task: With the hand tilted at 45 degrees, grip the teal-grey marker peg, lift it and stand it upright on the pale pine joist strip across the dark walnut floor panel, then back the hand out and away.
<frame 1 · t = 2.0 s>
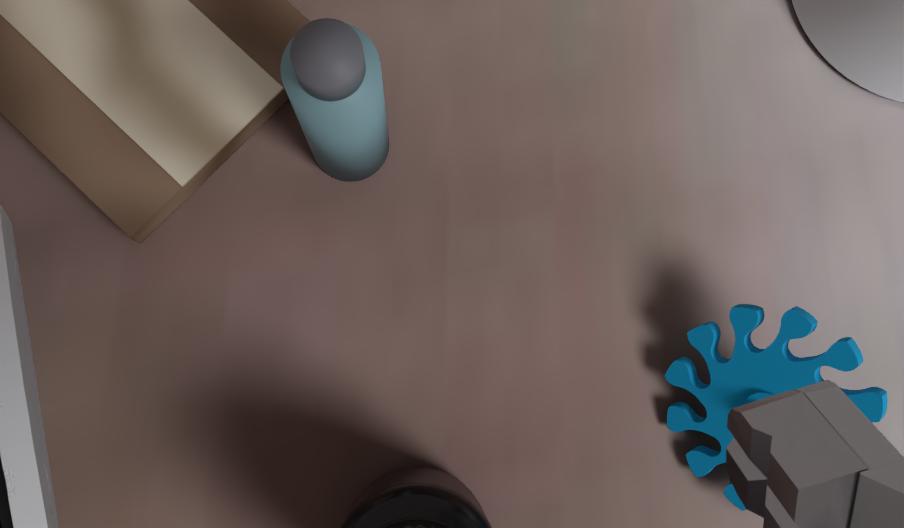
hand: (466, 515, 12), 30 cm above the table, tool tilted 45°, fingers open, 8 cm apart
floor panel: (144, 57, 44), on the table
grey piece: (15, 385, 41), on the table
marker peg: (350, 144, 43), on the table
gear: (740, 420, 42), on the table
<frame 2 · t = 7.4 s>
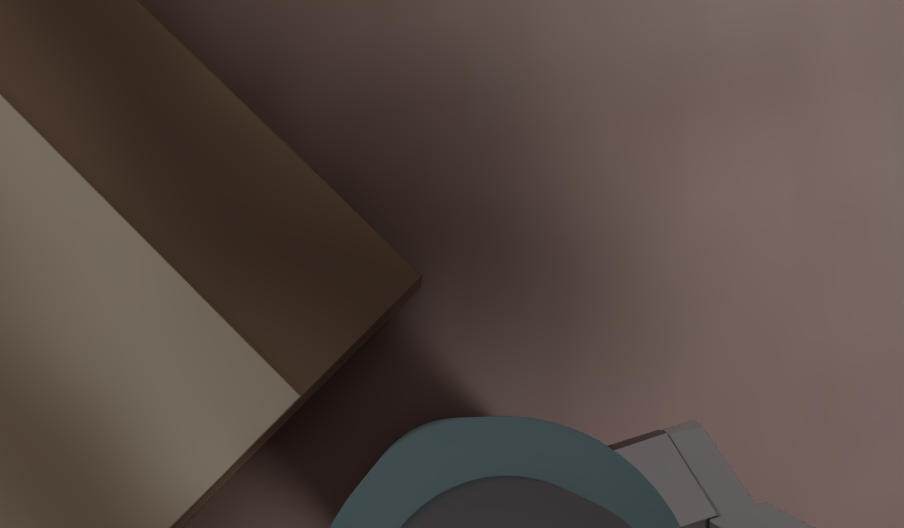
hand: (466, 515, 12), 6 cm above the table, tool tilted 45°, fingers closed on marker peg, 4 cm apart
marker peg: (455, 511, 18), on the table, touching gripper
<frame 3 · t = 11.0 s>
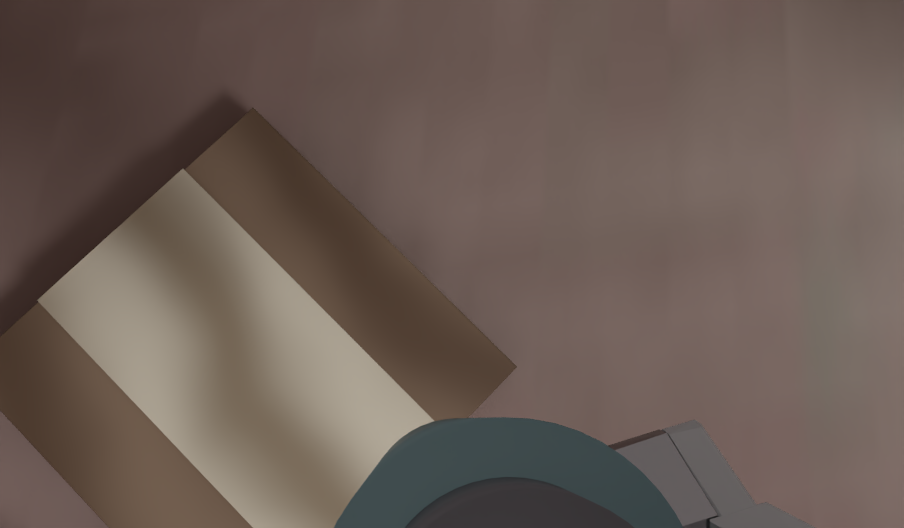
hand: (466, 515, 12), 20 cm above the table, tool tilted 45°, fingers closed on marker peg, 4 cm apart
floor panel: (251, 370, 32), on the table
marker peg: (457, 511, 18), point 13 cm above the table, touching gripper
when the fingers open (9 cm above the table, at t = 14.5 s): marker peg drops 1 cm, resting on floor panel.
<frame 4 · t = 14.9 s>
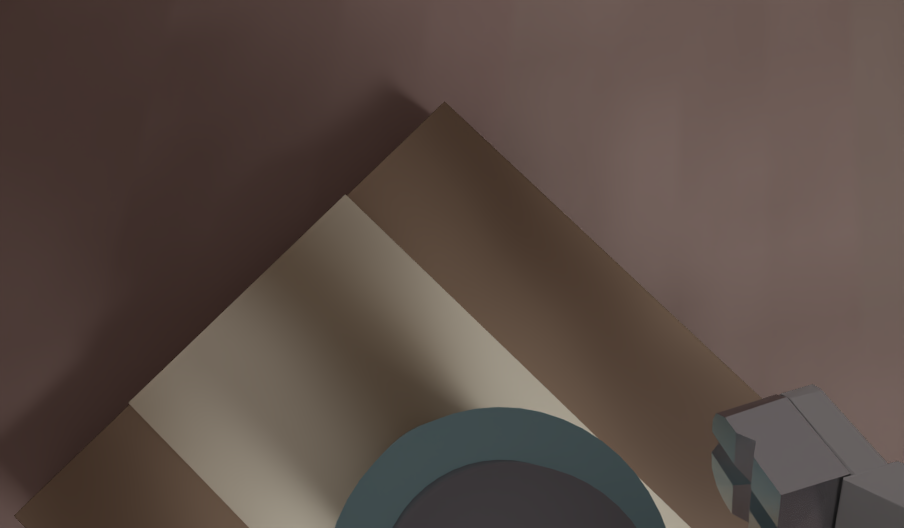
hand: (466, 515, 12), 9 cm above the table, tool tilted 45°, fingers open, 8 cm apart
floor panel: (448, 499, 21), on the table
marker peg: (452, 507, 19), point 2 cm above the table, touching floor panel
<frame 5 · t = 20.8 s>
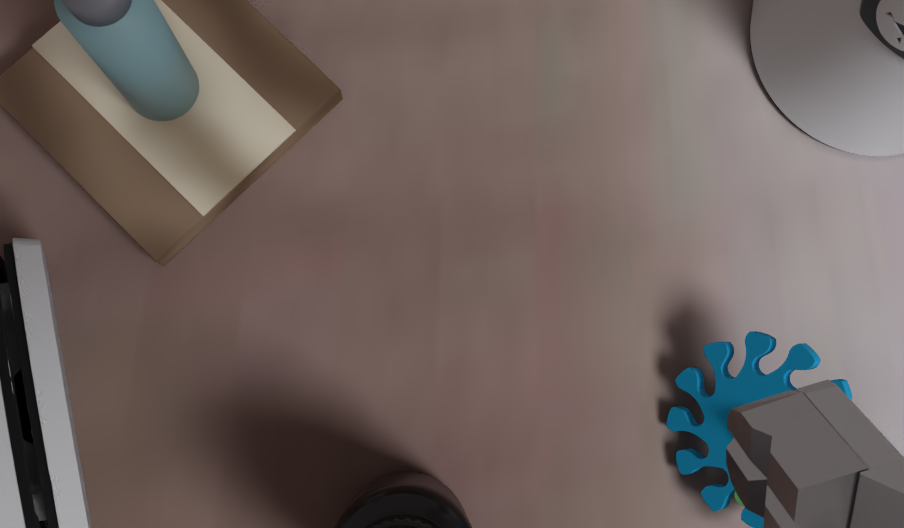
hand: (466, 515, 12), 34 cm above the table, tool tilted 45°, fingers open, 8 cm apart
floor panel: (171, 98, 49), on the table
grey piece: (50, 402, 46), on the table
marker peg: (163, 87, 47), point 2 cm above the table, touching floor panel
gear: (731, 437, 47), on the table
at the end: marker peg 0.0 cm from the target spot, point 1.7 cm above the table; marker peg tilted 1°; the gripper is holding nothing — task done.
